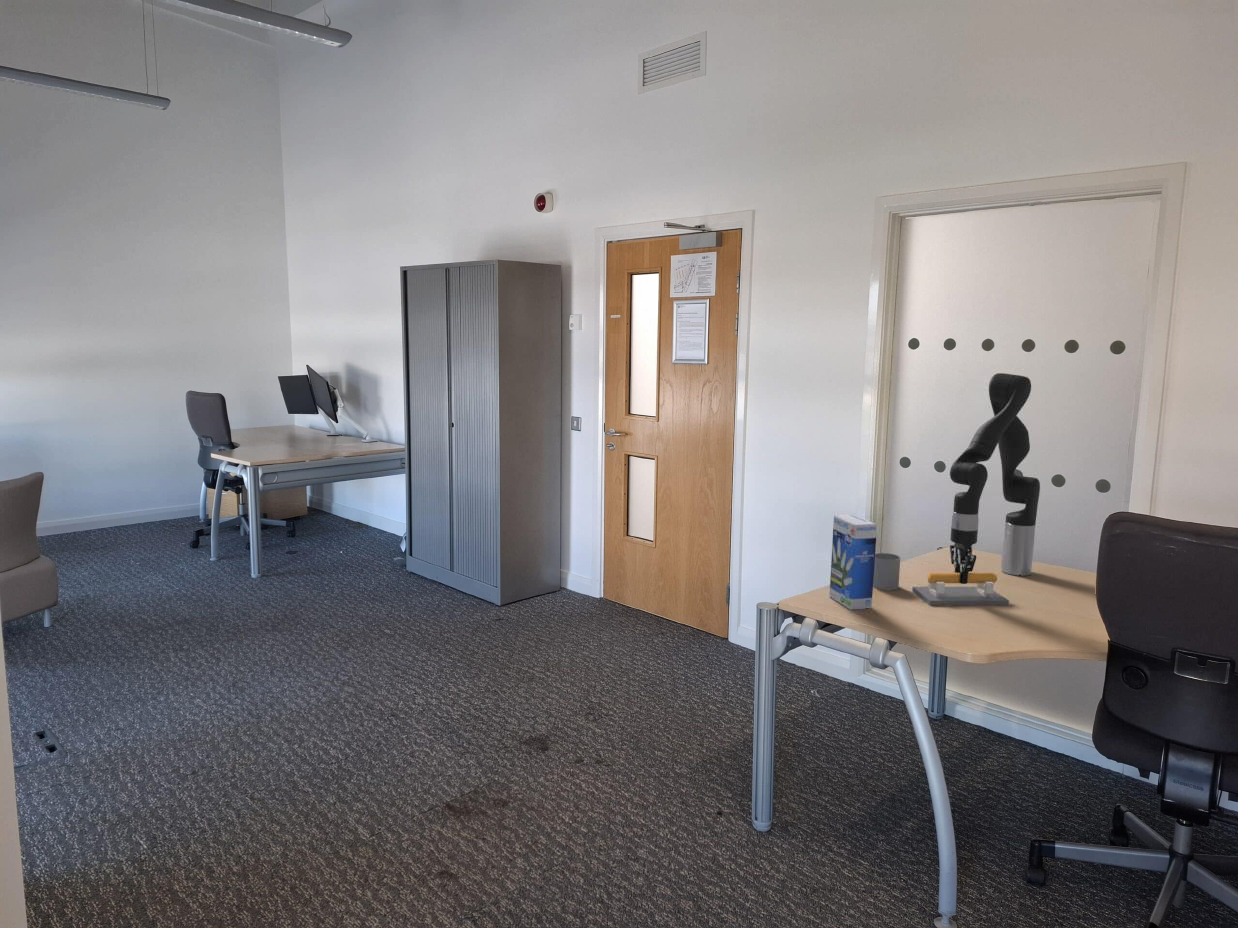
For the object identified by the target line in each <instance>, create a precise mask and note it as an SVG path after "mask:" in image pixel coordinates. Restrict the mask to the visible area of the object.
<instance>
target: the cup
mask: <svg viewBox="0 0 1238 928" xmlns="http://www.w3.org/2000/svg"><path fill="white" fill-rule="evenodd" d="M900 568H901V556H900V555H897V554H894V553H888V552H885V553H884V552H880V553H875V565H874V579H873V589H876V590H881V591H886V592H887V591H897V590H899V587H900V585H899V583H900V571H901V570H900Z"/></svg>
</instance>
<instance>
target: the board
mask: <svg viewBox="0 0 1238 928" xmlns="http://www.w3.org/2000/svg"><path fill="white" fill-rule="evenodd" d="M945 585H946V583H944V582H936V583H929V582H928V581H927V586H912V588H911V589H912V593H914V594H915V595H916V596H917V597H919V598H920V599H921V600H922V601H924V602H925V603H926V604H927V605H929V606H931V605H951V606H1010V600H1009V599H1008V598H1006V597H1004V596H1002V595H1001V594H999V593H998V592H997V591H995V590H994V585H995V583H993V582H985V583H974V586H945ZM931 607H932V606H931Z"/></svg>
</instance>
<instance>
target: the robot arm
mask: <svg viewBox="0 0 1238 928" xmlns="http://www.w3.org/2000/svg"><path fill="white" fill-rule="evenodd" d="M989 380H990V381H989V383H988V396H989V401H990V405H991V408H992V412H993V417H991V418H990V419H988V420H987V421H985V422H984V423H983V424H982V425H981V426H980V427H979V428H978V429H977V430H976V431H975V433H974V435H973V436H972V440H971V441H970V443H969V444H968V445H969V446H968V447H967V448H965V450H964V451H963V452H962V453H961V454H960V455H959V456H958V457H957V458H956V459H955V460H954V462H953V463H952V465H951V467H950V470H949V476H950V480H951V481H952V482H953V483H954V484H957V485H963V486H969V487H968V489H967V491H962V492H961V491H960V492H957V493H956V494H955V495H954V498H953V499H954V500H953V512H952V517H951V527H950V541H951V542H952V543H954V544H952V545H951V544H950V545H949V555H950V563H951V564H952V565H953V568H954V573H960V580H959V582H960V583H959V584H961V585H967V584H968V583H967V582H968V573H973V569H974V567H975V564H976V561H977V555H976V554H973V548H972V546H973V545H975V544H977V542H978V533H979V521H980V520H979V519H980V518H979V510H980V509H979V508H980V500H981V497H982V494H983V490H984V489H985V486H986V484H987V481H988V478H989V477H988V475H989V474H988V470H987V467H986V466H985V465H984V464H982V463H983V462H987V461H989V460H990V459H991V457H992V455H993V453H994V452H995V450H996V447H997V446H998V450H999V451H998V452H999V456H1000V464H1001V475H1002V476H1001V477H1002V483H1001V484H1002V495H1003V498H1004V500H1005V501H1007V502H1008V503H1013V504H1021V505H1025V507H1024V508H1023V509H1020V510H1017V511H1012V512H1009V513H1006V515H1005V524H1004V537H1003V545H1002V553H1001V555H1002V556H1001V572H1003V573H1005V574H1008V575H1012V576H1019V575H1021V577H1023V576H1024V577H1025V576H1030V575H1032V569H1033V568H1032V567H1033V558H1034V557H1033V556H1034V547H1035V533H1036V532H1035V531H1036V521H1037V516H1038V515H1037V514H1038V506H1039V501H1040V500H1039V499H1040V493H1041V482H1040V480H1039V479H1038V478H1037V477H1031V476H1021V475H1016V473H1015V471H1016V470H1017V468H1018V467H1019V465H1020V464H1021V463H1022V462H1023V461H1024V460H1025V459H1026V457H1027V456H1028V454H1029V452H1030V448H1031V445H1030V444H1031V443H1030V434H1029V431H1028V429H1027V426H1026V425H1025V423H1023V422H1022V419H1020V418H1019V416H1018V414H1019V413H1020V411H1022V409H1023V407H1024V405H1025V404H1027V401H1028V399H1029V397H1030V395H1031V391H1032V382H1031V380H1030V377H1028V376H1023V375H1019V374H1011V373H1002V372H999V373H994V375H992V376H991V378H990V379H989Z"/></svg>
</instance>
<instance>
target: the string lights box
mask: <svg viewBox="0 0 1238 928" xmlns="http://www.w3.org/2000/svg"><path fill="white" fill-rule="evenodd" d="M832 524H833V526H832V527H833V528H832V540H831V541H832V545H831V546H832V547H831V558H830V559H831V562H830V577H829V579H830V581H829V583H830V584H829V598H832V600H835V601H836V602H838V603H839V604H841V605H842V606H843V607H845V608H846V609H848V610H851V611H852V610H865V609H866V608H869V609H872V607H873V606H872V605H873V591H874V588H873V579H874V565H875V554H876V548H877V534H878V523H875V522H871V521H870V520H868V519H866V518H863V517H861V516H857V515H856V514H838V515H837V514H836V515H833V523H832Z"/></svg>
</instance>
